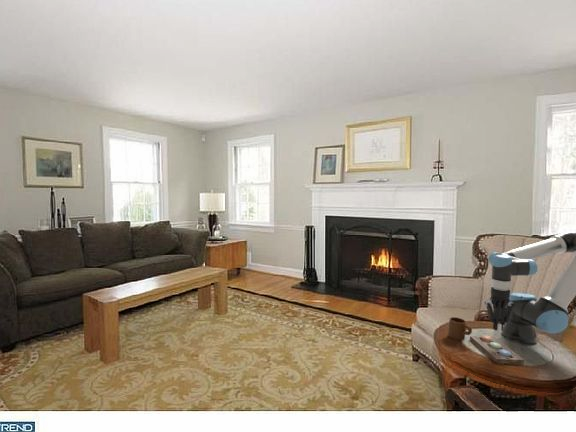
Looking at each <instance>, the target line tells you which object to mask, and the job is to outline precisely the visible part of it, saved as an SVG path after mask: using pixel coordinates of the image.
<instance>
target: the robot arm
mask: <svg viewBox="0 0 576 432" xmlns="http://www.w3.org/2000/svg"><path fill="white" fill-rule="evenodd" d="M565 253H573V255H574V258H573V259H572V261H570V263H569V264H568V266H567V267H566V269H565V270H564V271H563V273H562V274H561V275H560V277H559V278H558V279H557V281H556V282H555V283H554V285H553V286H552V288H551V289H550V290H549V292H548V293H547V294H546V295H545V296H540V297H539V299H538V298H537V296H536V295H534V294H530V293H519V292H512V293H511V290H510V289H511V285H512V284H511V283H512V277H514V276H515V277H517V276H522V277H523V276H526V277H528V276H534V275H536V274H537V272H538V269H539V268H538V267H539V266H538V264H537V262H536V261H535V260H537V259H540V258H543V257H544V258H545V257H547V256H550V255H553V254H554V255H555V254H565ZM488 263H489V265H490V266H491V286H490V298H489V300H488V301H484V305H485V307H486V311H487V316H488V320H489V321H490V322H491V323H492V329H493V332H494V333H493V334H494V337H495V338H496V339H497V338H498V339H500V338H502V336H503V337H504V336H505V339H506V338H507V339H508V340H511V341H514V342H516V343H521V344H530V345H531V344H535V343H537V342H538V338H537V337H538V336H537V333H536V329H535V327H536V328H537V329H539V330H540V331H543V332H546V333H549V334H558V333H561V332H564V330H565V329H566V328H567V327H568V325H569V316H568V314H569V310H568V306H569V305H570V303H571V302H572V301H573V299H574V298H575V297H576V230H572V231H571V230H570V231H566V232H562V233H558V234H554V235H552V236H550V237H549V238H548V239H544V240H541V241H538V242H535V243H531V244H527V245H525V246H522V247H518V248H514V249H510V250H507V251H504V252H498V251H494V252H491V253H490V254H489V256H488Z"/></svg>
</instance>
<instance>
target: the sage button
mask: <svg viewBox="0 0 576 432" xmlns="http://www.w3.org/2000/svg"><path fill="white" fill-rule="evenodd" d="M490 348H492V349H493V350H500V349H501V345H500V344H498V343H495V342H490Z"/></svg>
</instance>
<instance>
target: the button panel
mask: <svg viewBox="0 0 576 432" xmlns="http://www.w3.org/2000/svg"><path fill="white" fill-rule="evenodd" d="M482 336H483V335H481V336H479V335H469V341H470V342H472V343H473V344H474V345H475V346H476V347H477V348H479V349H480V350H481V351H482V352H483V353H484V354H485V355H486V356H488V357H489V358H490V359H491V360H492V361H493V360H494V361H493V362H494V363H496V364H504V363H511V364H512V365H525V359H524V358H522V357H521V356H520V355H518V354H517V353H516V352H514V351H513V350H512V349H510V347H508V346H507V345H505V344H504V343H503V342H501V341H500V340H499V339H497V337H496V336H490V337H491V338H492V342H495V343H498V344H500V345H501V349H503V350H507V351H509V352H510V353H511V356H510V358H503V357H501V356H500V355H499V350H493V349H492V348H490V343H486V342H483V341H482ZM511 364H510V365H511Z"/></svg>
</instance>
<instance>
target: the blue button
mask: <svg viewBox="0 0 576 432" xmlns="http://www.w3.org/2000/svg"><path fill="white" fill-rule="evenodd" d="M499 355H500V356H501V357H503V358H510V356H511V353H510V352H509V351H507V350H503V349H500V350H499Z"/></svg>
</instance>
